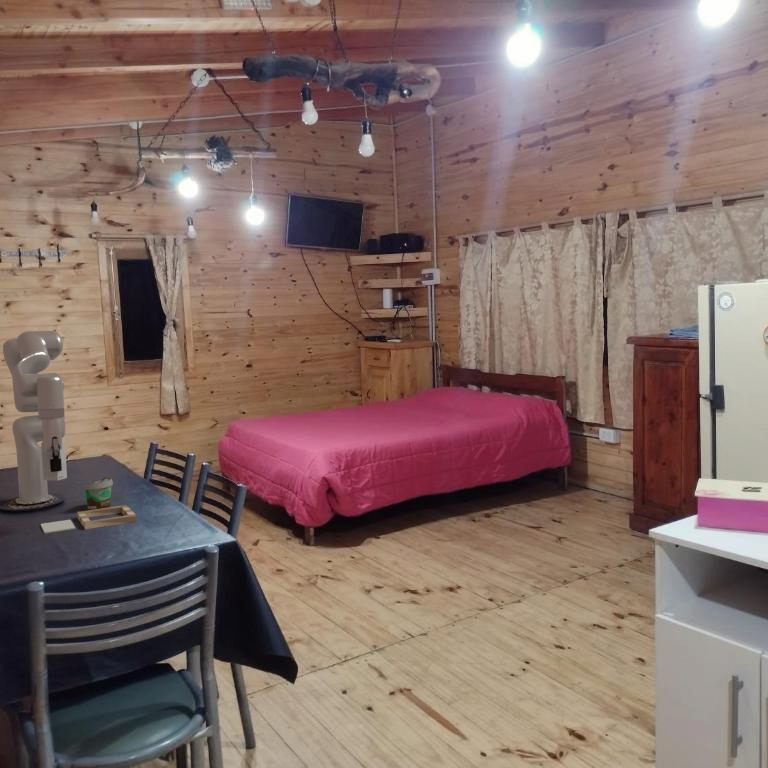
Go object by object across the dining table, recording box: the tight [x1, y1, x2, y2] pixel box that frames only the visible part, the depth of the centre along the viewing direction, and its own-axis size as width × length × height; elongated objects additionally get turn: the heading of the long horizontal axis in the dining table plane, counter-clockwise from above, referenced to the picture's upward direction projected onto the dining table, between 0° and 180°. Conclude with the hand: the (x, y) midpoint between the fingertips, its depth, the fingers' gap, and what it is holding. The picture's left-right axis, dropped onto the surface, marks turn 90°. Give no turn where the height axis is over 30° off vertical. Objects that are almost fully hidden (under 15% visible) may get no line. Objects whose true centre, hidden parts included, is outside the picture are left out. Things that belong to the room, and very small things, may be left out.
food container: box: [83, 475, 114, 511], centre depth 255 cm, size 12×6×10 cm, turn 168°
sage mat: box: [40, 519, 76, 534], centre depth 233 cm, size 11×9×1 cm
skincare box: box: [40, 441, 68, 482], centre depth 231 cm, size 6×4×12 cm
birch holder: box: [76, 504, 138, 530], centre depth 240 cm, size 16×16×2 cm
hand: (54, 468), depth 231 cm, fingers closed on skincare box, 7 cm apart
